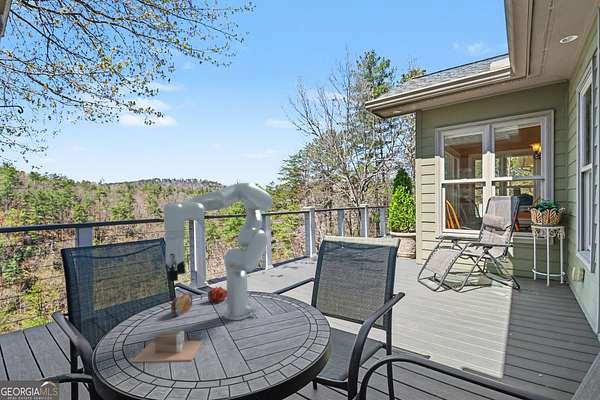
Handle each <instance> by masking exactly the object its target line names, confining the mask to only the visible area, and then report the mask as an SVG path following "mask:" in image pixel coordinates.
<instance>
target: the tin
mask: <svg viewBox="0 0 600 400" xmlns="http://www.w3.org/2000/svg"><path fill="white" fill-rule="evenodd" d="M192 304H193V296H192V294H191V293H190V292H185V293H182V294H180V295H178V296H176V297H175V298H174V299H173V300H172V302H171V305H170V307H171V308H170V311H171V314H172V315H173V316H176V317H178V316H180V317H181V316H182V315H183V314H185V313H186V312H188V311H189V310H190V309H191V307H192Z"/></svg>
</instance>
